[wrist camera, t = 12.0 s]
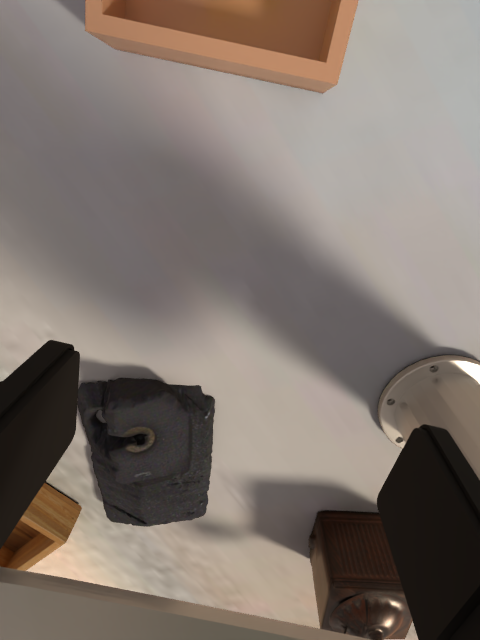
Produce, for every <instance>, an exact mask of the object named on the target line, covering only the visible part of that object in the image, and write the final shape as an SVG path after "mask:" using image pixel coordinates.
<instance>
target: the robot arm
mask: <svg viewBox="0 0 480 640" xmlns="http://www.w3.org/2000/svg"><path fill="white" fill-rule="evenodd" d="M79 362H80V354H79V352H78V351H74V346H73V345H71V344H67V343H62V342H58V341H54V340H49V341H48V342H47V343H45V344H44V345H43V346H42V347H41V348H40V349H39V350H38V351H36V352H35V353H34V354H33V355H32V356H31V357H30V358H29V359H27V360H26V361H25V362H24V363H23V364H22V365H21V366H20V367H18V368H17V369H16V370H15V371H14V372H13V373H12V374H11V375H9V376H8V377H7V378H6V379H5V380H4V381H1V382H0V549H1V548H2V546H3V545H4V543H5V542H6V540H7V539H8V537H9V536H10V534H11V533H12V531H13V530H14V528H15V527H16V525H17V523H18V522H19V520H20V519H21V517H22V516H23V514H24V513H25V511H26V510H27V508H28V507H29V505H30V504H31V502H32V501H33V499H34V498H35V496H36V495H37V493H38V492H39V490H40V489H41V487H42V486H43V484H44V483H45V481H46V480H47V478H48V477H49V475H50V473H51V472H52V470H53V469H54V467H55V466H56V464H57V463H58V461H59V460H60V458H61V457H62V455H63V454H64V452H65V451H66V449H67V448H68V446H69V445H70V443H71V441H72V439H73V437H74V434H75V430H76V416H77V398H78V380H79ZM378 418H379V422H380V425H381V427H382V429H383V431H384V433H385V434H386V436H387V437H388V439H389V440H390V441H391V442H393V443H394V444H395V445H397V446H398V447H400V448H402V451H401V453H400V455H399V457H398V459H397V460H396V462H395V464H394V466H393V468H392V470H391V472H390V474H389V476H388V477H387V479H386V481H385V483H384V485H383V487H382V489H381V491H380V492H379V495H378V498H377V507H378V511H379V514H380V518H381V521H382V524H383V527H384V530H385V534H386V537H387V540H388V543H389V546H390V550H391V553H392V556H393V559H394V562H395V566H396V569H397V572H398V575H399V578H400V582H401V585H402V588H403V591H404V594H405V598H406V601H407V604H408V607H409V610H410V614H411V617H412V620H413V623H414V626H415V630H416V633H417V636H418V639H419V640H480V362H478V361H476V360H473V359H471V358H468V357H462V356H457V355H443V356H437V357H431V358H428V359H425V360H421V361H419V362H417V363H415V364H412V365H410V366H408V367H407V368H405V369H404V370H402V371H401V372H400V373H398V374H397V375H396V376H395V377H394V378H393V379H392V380H391V381H390V382H389V384H388V385H387V386H386V388H385V389H384V391H383V393H382V395H381V397H380V400H379V404H378ZM0 640H371V639H367V638H362V637H357V636H352V635H347V634H343V633H338V632H333V631H328V630H323V629H318V628H313V627H309V626H304V625H299V624H294V623H289V622H284V621H279V620H274V619H269V618H264V617H259V616H254V615H249V614H244V613H239V612H234V611H229V610H224V609H219V608H214V607H210V606H205V605H200V604H195V603H190V602H185V601H180V600H174V599H169V598H164V597H159V596H154V595H149V594H144V593H139V592H134V591H129V590H123V589H118V588H113V587H108V586H103V585H98V584H93V583H88V582H83V581H77V580H72V579H67V578H62V577H56V576H51V575H45V574H39V573H34V572H28V571H22V570H17V569H11V568H5V567H0Z"/></svg>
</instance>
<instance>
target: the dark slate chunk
mask: <svg viewBox="0 0 480 640" xmlns="http://www.w3.org/2000/svg"><path fill="white" fill-rule="evenodd" d="M214 404H215V399H214V398H212V397H210V396H207V397H205V395H204V394H203V393H202V390H201V386H199V385H196V386H185V385H169V384H166V383H163V382H161V381H159V380H152V379H131V378H118V379H116V380H115V381H111V380H108V382H101V381H98V383H97V384H95V383H87V384H86V383H82V384H81V385H80V387H79V389H78V401H77V405H78V409H79V412H80V415H81V419H82V424H83V426H84V428H85V432H86V435H87V438H88V441H89V444H90V445H91V451H92V452H93V454H92V456H91V459H92V461H93V468H94V472H95V474H96V477H97V479H98V486H99V488H100V490H101V494H102V497H103V504H104V509H105V512H106V515H107V517H108V518H109V520H111V521H112V522H116V523H124V524H132V525H136V526H153V525H160V524H167V523H171V522H178V521H186V520H193V519H194V518H199V517H201V516H203V515H204V514H205V513H206V506H207V504H208V495H207V491H208V490H209V484H210V481H209V478H210V472H211V463H212V456H211V453H212V444H213V437H212V436H213V422H214V420H213V417H214V413H215V409H214ZM98 410H102V417H103V418H104V419H105V420H106V422H107V423H101V422H100V421H99V420H98V419H97V417H96V413H97V411H98Z"/></svg>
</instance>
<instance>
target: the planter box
mask: <svg viewBox="0 0 480 640" xmlns="http://www.w3.org/2000/svg"><path fill="white" fill-rule="evenodd" d="M357 4H358V0H85V31H87V32H88V33H90V34H91V35H93V36H95V37H96V38H98V39H99V40H101V41H103V42H104V43H106V44H107V45H109V46H111V47H112V48H114V49H117V50H121V51H126V52H131V53H136V54H140V55H145V56H150V57H154V58H159V59H164V60H168V61H173V62H178V63H183V64H187V65H192V66H197V67H201V68H206V69H211V70H216V71H220V72H225V73H230V74H234V75H239V76H244V77H249V78H253V79H258V80H263V81H267V82H272V83H277V84H282V85H286V86H291V87H296V88H300V89H305V90H310V91H315V92H319V93H324V92H326V91H327V90H329V89H331V88H332V87H334V86H336V85H337V83H338V79H339V75H340V71H341V67H342V63H343V59H344V55H345V52H346V48H347V44H348V40H349V36H350V32H351V28H352V24H353V20H354V16H355V12H356V8H357Z"/></svg>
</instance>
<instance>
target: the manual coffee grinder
mask: <svg viewBox="0 0 480 640" xmlns="http://www.w3.org/2000/svg"><path fill="white" fill-rule="evenodd" d="M309 547H310V562H311V565H312V571H313V580H314V587H315V594H316V601H317V608H318V615H319V622H320V629H323V630H328V631H333V632H338V633H343V634H347V635H352V636H357V637H362V638H367V639H371V640H383V639H405V637H406V635H407V633H408V630H409V628H410V625H411V623H412V621H413V620H412V617H411V614H410V610H409V607H408V604H407V601H406V598H405V594H404V591H403V588H402V585H401V582H400V578H399V575H398V572H397V569H396V566H395V562H394V559H393V556H392V553H391V550H390V546H389V543H388V540H387V537H386V534H385V530H384V527H383V524H382V521H381V518H380V514H379V513H369V512H349V511H320V512H318V513H317V517H316V521H315V524H314V528H313V531H312V534H311V535H310V537H309Z"/></svg>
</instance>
